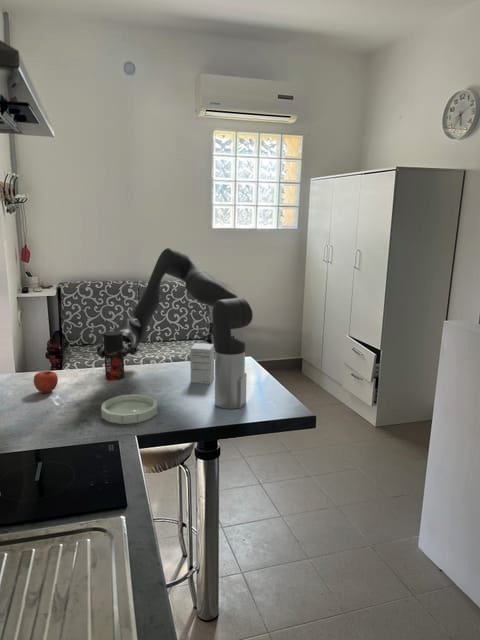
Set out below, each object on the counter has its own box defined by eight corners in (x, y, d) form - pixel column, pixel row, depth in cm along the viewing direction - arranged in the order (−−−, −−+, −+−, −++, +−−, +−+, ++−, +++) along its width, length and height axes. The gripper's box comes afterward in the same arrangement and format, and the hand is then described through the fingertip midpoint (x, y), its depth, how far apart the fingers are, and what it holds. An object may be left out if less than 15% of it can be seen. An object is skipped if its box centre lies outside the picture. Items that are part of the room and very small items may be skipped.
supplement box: (194, 376, 177) (194, 342, 175) (214, 377, 176) (214, 343, 174) (189, 382, 170) (189, 348, 168) (210, 384, 169) (210, 349, 167)
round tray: (166, 405, 150) (165, 398, 149) (141, 426, 135) (140, 418, 134) (120, 399, 154) (119, 392, 154) (90, 419, 139) (90, 411, 139)
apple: (35, 389, 162) (34, 366, 160) (59, 387, 164) (57, 364, 162) (33, 397, 155) (31, 373, 153) (57, 395, 157) (56, 371, 155)
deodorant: (127, 375, 160) (124, 331, 157) (121, 381, 154) (118, 335, 151) (109, 374, 161) (107, 330, 157) (102, 380, 155) (100, 335, 152)
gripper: (102, 331, 169) (88, 343, 152) (143, 331, 169) (134, 343, 153) (103, 352, 170) (89, 366, 154) (144, 351, 171) (135, 366, 154)
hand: (112, 354), depth 153 cm, fingers closed on deodorant, 6 cm apart
